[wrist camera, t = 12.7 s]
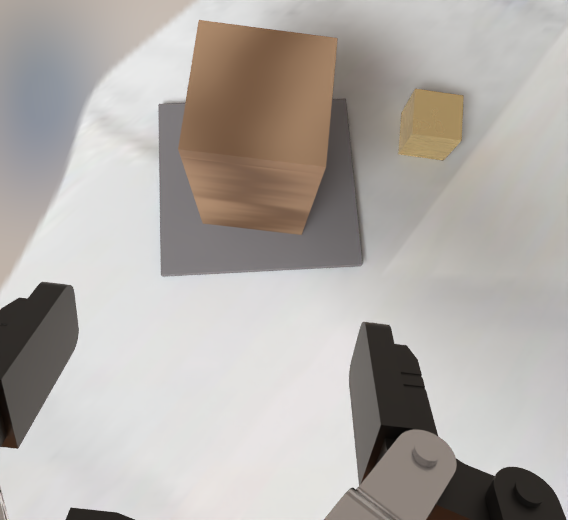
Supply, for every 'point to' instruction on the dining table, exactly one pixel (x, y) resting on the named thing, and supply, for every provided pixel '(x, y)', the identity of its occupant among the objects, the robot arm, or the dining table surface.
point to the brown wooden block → (257, 125)
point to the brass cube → (431, 124)
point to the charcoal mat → (248, 242)
